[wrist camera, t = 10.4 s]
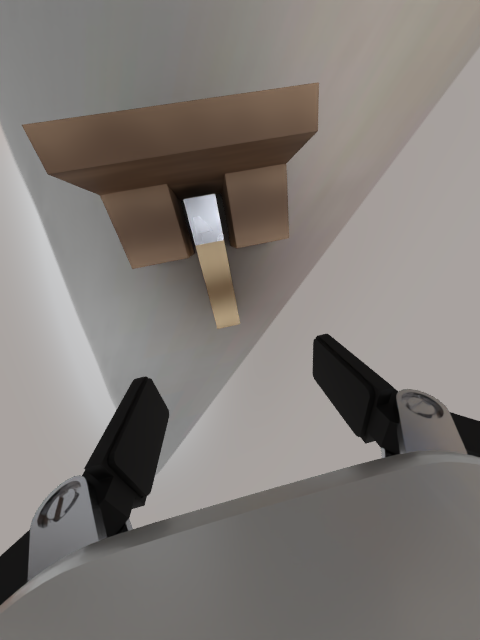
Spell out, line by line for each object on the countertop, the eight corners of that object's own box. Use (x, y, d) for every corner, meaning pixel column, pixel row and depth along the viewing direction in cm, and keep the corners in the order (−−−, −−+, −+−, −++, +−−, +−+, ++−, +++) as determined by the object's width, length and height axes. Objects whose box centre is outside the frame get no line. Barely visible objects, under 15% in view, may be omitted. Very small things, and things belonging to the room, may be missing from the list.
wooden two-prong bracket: (126, 188, 19) (21, 124, 9) (262, 165, 20) (318, 82, 10) (154, 261, 23) (103, 279, 12) (268, 238, 24) (315, 237, 13)
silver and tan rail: (190, 209, 21) (183, 199, 16) (214, 205, 21) (215, 193, 16) (216, 311, 27) (217, 329, 22) (234, 307, 28) (240, 323, 22)
